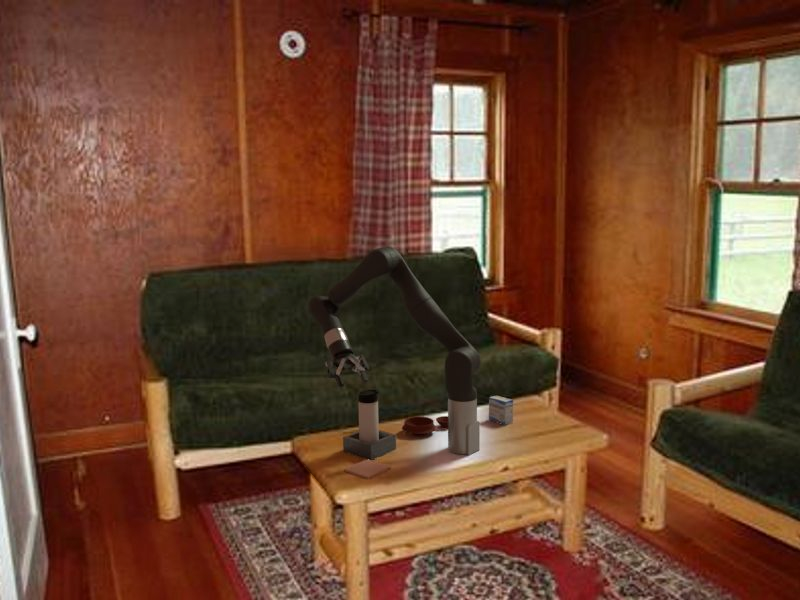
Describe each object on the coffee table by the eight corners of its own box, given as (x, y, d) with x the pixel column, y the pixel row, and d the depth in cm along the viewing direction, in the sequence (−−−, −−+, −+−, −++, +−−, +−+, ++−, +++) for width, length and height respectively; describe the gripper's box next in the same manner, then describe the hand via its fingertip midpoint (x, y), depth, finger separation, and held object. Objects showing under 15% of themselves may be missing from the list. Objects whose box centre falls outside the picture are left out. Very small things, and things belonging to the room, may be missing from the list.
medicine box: (488, 420, 259) (488, 397, 258) (496, 417, 262) (496, 394, 261) (505, 425, 254) (505, 402, 252) (513, 422, 257) (513, 399, 255)
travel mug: (377, 454, 228) (376, 393, 225) (357, 453, 229) (355, 392, 226) (381, 447, 234) (380, 388, 231) (362, 446, 235) (360, 387, 232)
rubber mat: (390, 468, 217) (390, 466, 217) (368, 479, 209) (368, 477, 209) (366, 460, 223) (366, 458, 223) (343, 470, 216) (343, 468, 216)
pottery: (395, 432, 249) (395, 419, 249) (442, 421, 260) (442, 409, 259) (414, 441, 240) (413, 429, 239) (462, 430, 250) (462, 418, 249)
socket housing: (396, 449, 232) (395, 434, 232) (371, 460, 223) (370, 445, 223) (368, 441, 240) (368, 427, 239) (343, 451, 231) (342, 437, 230)
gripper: (322, 340, 239) (337, 382, 231) (360, 335, 246) (376, 375, 238) (316, 353, 245) (331, 394, 237) (353, 348, 252) (369, 387, 244)
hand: (354, 384), depth 237 cm, fingers open, 8 cm apart
